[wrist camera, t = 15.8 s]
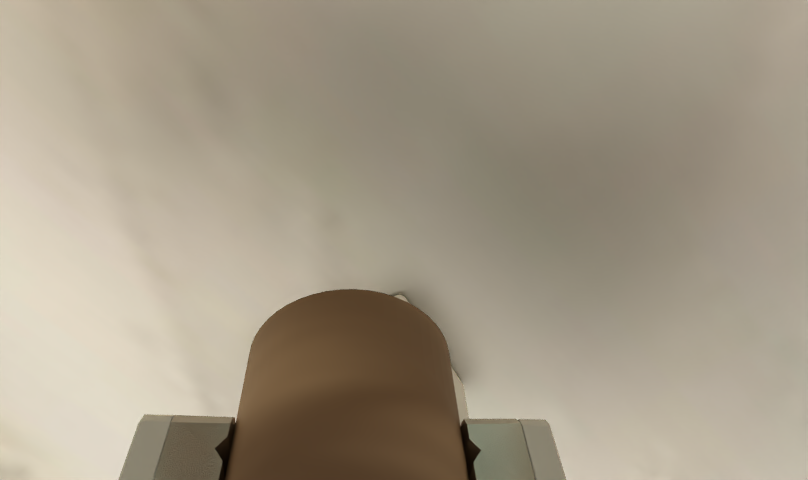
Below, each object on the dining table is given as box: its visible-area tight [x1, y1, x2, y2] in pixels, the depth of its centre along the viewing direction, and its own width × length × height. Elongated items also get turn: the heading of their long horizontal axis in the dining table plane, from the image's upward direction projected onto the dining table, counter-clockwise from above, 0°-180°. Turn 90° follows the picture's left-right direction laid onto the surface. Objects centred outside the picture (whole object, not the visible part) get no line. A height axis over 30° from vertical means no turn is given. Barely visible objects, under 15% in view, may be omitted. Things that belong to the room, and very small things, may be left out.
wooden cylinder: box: [225, 289, 469, 480], centre depth 11 cm, size 4×4×4 cm
